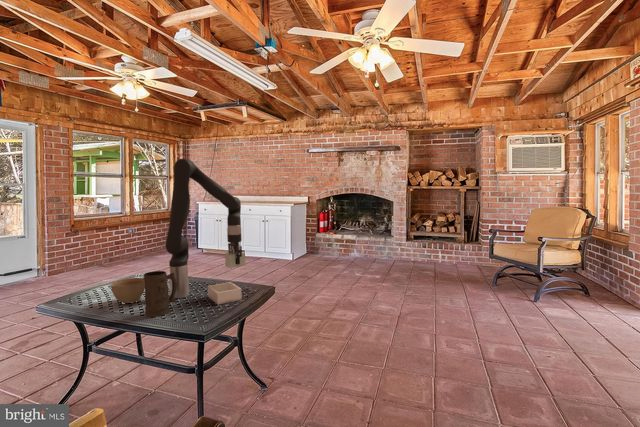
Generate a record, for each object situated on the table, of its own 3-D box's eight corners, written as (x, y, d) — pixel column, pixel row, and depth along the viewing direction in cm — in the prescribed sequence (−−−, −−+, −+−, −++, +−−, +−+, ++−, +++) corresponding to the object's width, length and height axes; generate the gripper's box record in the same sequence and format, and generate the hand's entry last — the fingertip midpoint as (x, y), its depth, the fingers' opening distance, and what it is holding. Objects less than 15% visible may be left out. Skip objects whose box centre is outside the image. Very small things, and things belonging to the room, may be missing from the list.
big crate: (218, 304, 177) (217, 293, 176) (208, 296, 190) (207, 286, 190) (241, 299, 184) (241, 288, 183) (230, 292, 197) (230, 281, 197)
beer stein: (152, 319, 160) (152, 275, 159) (138, 315, 165) (138, 273, 165) (181, 310, 173) (181, 270, 172) (168, 307, 178) (168, 268, 178)
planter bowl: (133, 295, 196) (132, 276, 195) (153, 299, 189) (152, 279, 188) (105, 304, 182) (103, 284, 181) (125, 308, 175) (124, 287, 174)
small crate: (229, 267, 189) (229, 255, 188) (225, 265, 194) (225, 253, 193) (245, 265, 194) (245, 253, 193) (240, 263, 199) (240, 251, 199)
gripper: (222, 232, 196) (223, 261, 197) (232, 235, 184) (233, 266, 186) (235, 231, 200) (236, 260, 202) (246, 234, 189) (247, 264, 190)
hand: (235, 263), depth 194 cm, fingers closed on small crate, 6 cm apart
